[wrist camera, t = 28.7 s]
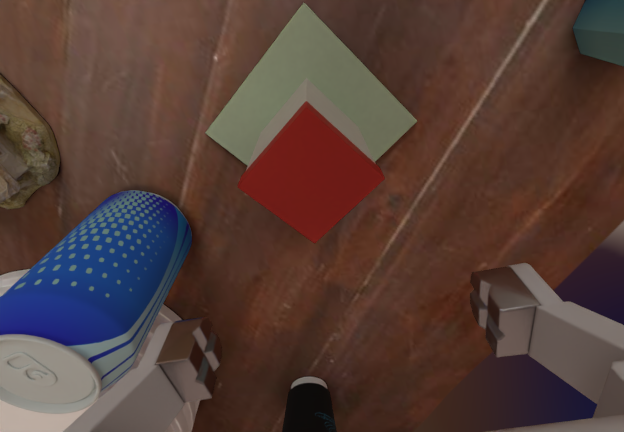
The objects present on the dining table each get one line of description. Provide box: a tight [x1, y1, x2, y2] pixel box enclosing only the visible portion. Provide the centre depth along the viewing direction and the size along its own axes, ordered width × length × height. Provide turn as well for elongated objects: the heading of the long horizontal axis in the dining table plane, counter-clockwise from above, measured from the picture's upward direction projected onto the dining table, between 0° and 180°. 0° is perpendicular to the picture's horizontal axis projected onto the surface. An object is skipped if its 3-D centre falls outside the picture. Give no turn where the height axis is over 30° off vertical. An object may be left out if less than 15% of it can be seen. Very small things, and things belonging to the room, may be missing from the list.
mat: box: [205, 3, 417, 166], centre depth 28 cm, size 12×12×1 cm
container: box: [237, 78, 385, 243], centre depth 23 cm, size 6×10×6 cm
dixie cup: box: [282, 377, 336, 432], centre depth 41 cm, size 8×8×11 cm
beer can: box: [0, 190, 192, 414], centre depth 26 cm, size 8×8×16 cm
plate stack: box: [0, 269, 200, 432], centre depth 37 cm, size 28×28×12 cm
